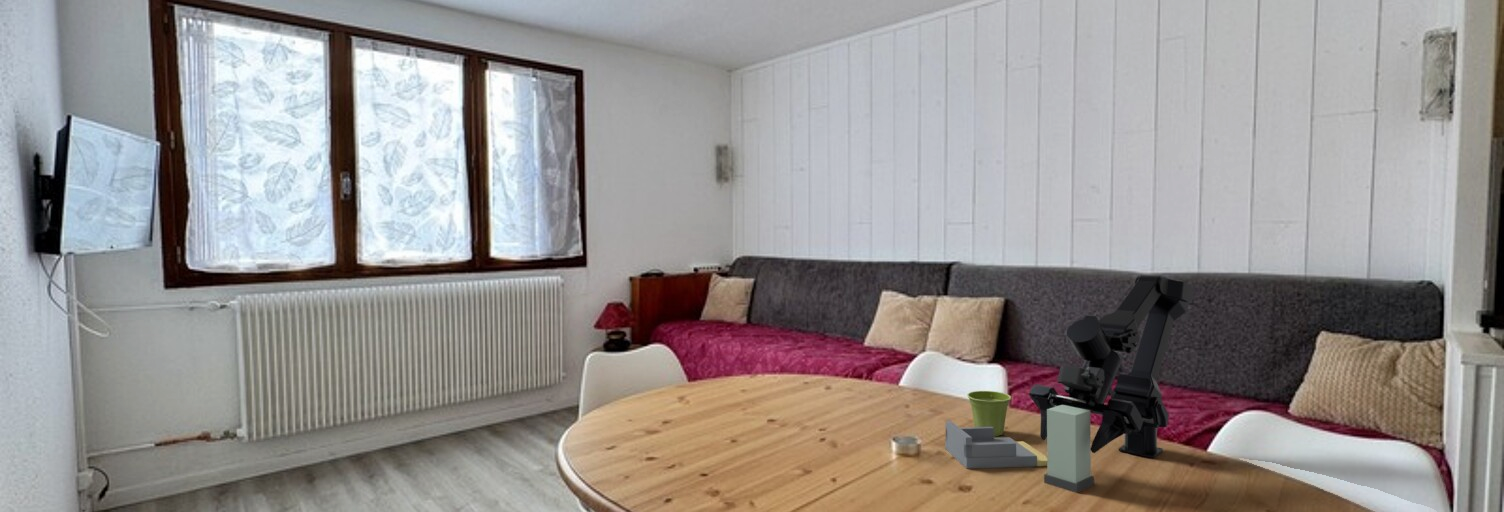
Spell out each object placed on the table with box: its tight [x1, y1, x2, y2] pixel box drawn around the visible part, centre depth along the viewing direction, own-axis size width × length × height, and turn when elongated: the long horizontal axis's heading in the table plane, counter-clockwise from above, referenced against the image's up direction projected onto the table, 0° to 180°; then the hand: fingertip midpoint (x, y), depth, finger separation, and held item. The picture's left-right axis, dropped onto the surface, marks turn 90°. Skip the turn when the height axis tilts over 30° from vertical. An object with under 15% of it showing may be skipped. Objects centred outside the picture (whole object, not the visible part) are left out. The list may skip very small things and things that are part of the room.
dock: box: [944, 420, 1047, 470], centre depth 131 cm, size 17×12×6 cm
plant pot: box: [966, 390, 1012, 438], centre depth 147 cm, size 9×9×9 cm
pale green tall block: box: [1043, 405, 1095, 493], centre depth 116 cm, size 6×6×14 cm
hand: (1066, 444), depth 115 cm, fingers open, 9 cm apart
